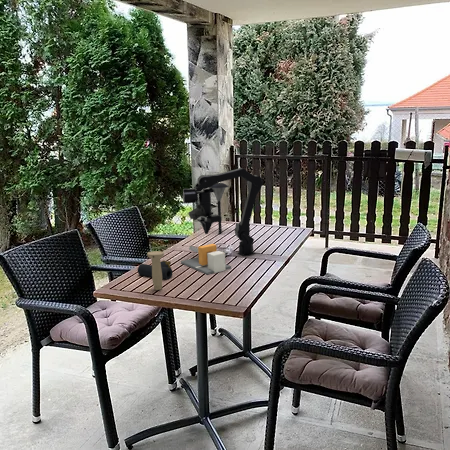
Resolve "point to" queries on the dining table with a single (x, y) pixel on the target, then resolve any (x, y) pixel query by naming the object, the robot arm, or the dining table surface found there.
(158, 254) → the handle
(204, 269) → the mat
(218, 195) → the solar garden light
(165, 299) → the dining table surface
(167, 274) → the pipe connector
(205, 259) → the collar
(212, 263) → the block
